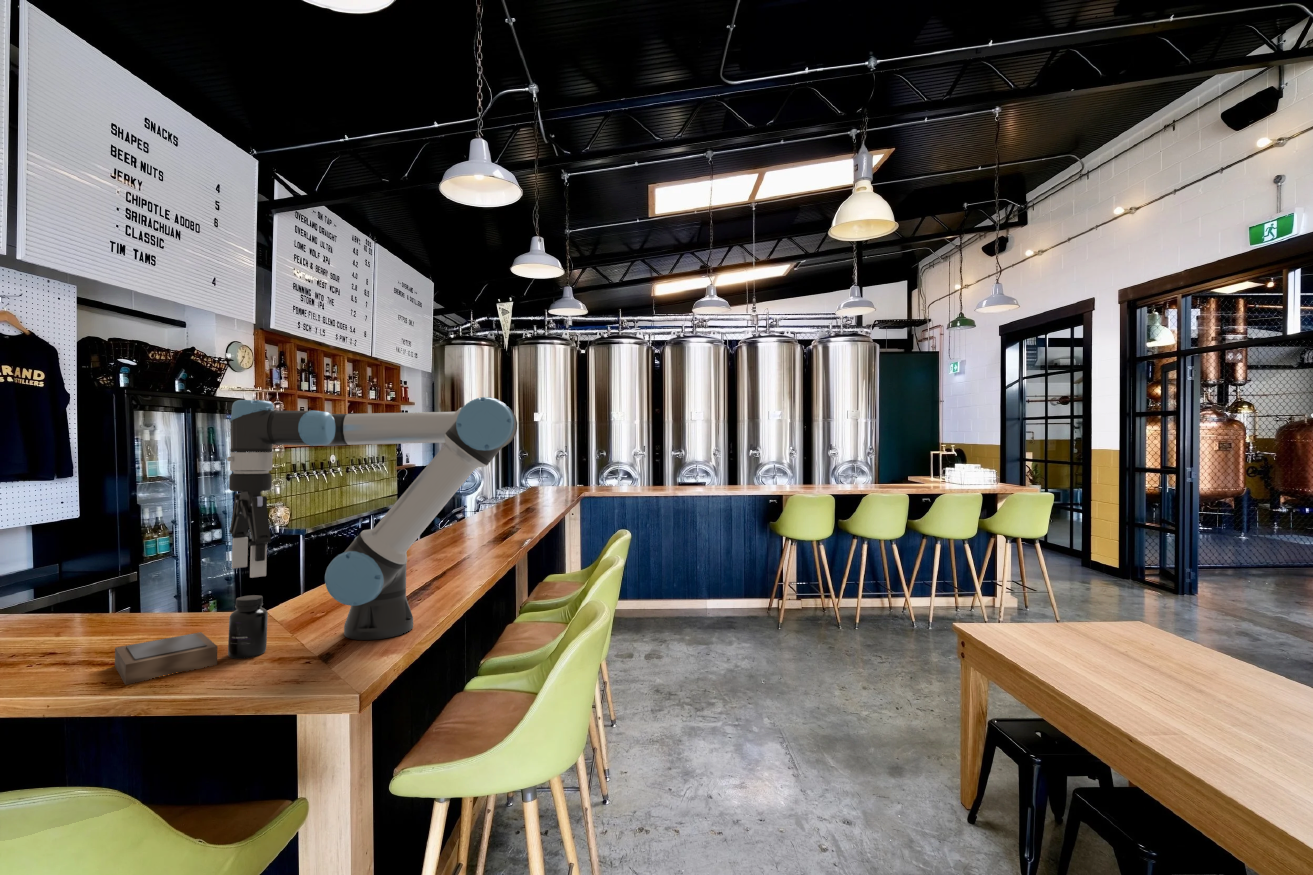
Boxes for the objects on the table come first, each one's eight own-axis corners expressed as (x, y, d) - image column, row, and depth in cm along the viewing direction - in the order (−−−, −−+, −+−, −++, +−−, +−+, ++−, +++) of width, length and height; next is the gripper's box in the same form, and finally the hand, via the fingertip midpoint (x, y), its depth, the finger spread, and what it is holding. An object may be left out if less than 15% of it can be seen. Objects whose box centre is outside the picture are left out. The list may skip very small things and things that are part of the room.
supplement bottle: (230, 662, 123) (231, 603, 123) (226, 653, 128) (227, 597, 128) (269, 654, 127) (270, 598, 128) (264, 646, 132) (265, 592, 133)
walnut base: (200, 649, 130) (201, 630, 131) (217, 664, 121) (217, 644, 121) (114, 666, 120) (115, 646, 120) (125, 684, 111) (125, 662, 111)
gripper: (215, 470, 134) (212, 566, 133) (247, 474, 117) (244, 583, 117) (254, 470, 139) (251, 561, 139) (290, 474, 123) (287, 577, 122)
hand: (248, 571), depth 128 cm, fingers open, 13 cm apart
